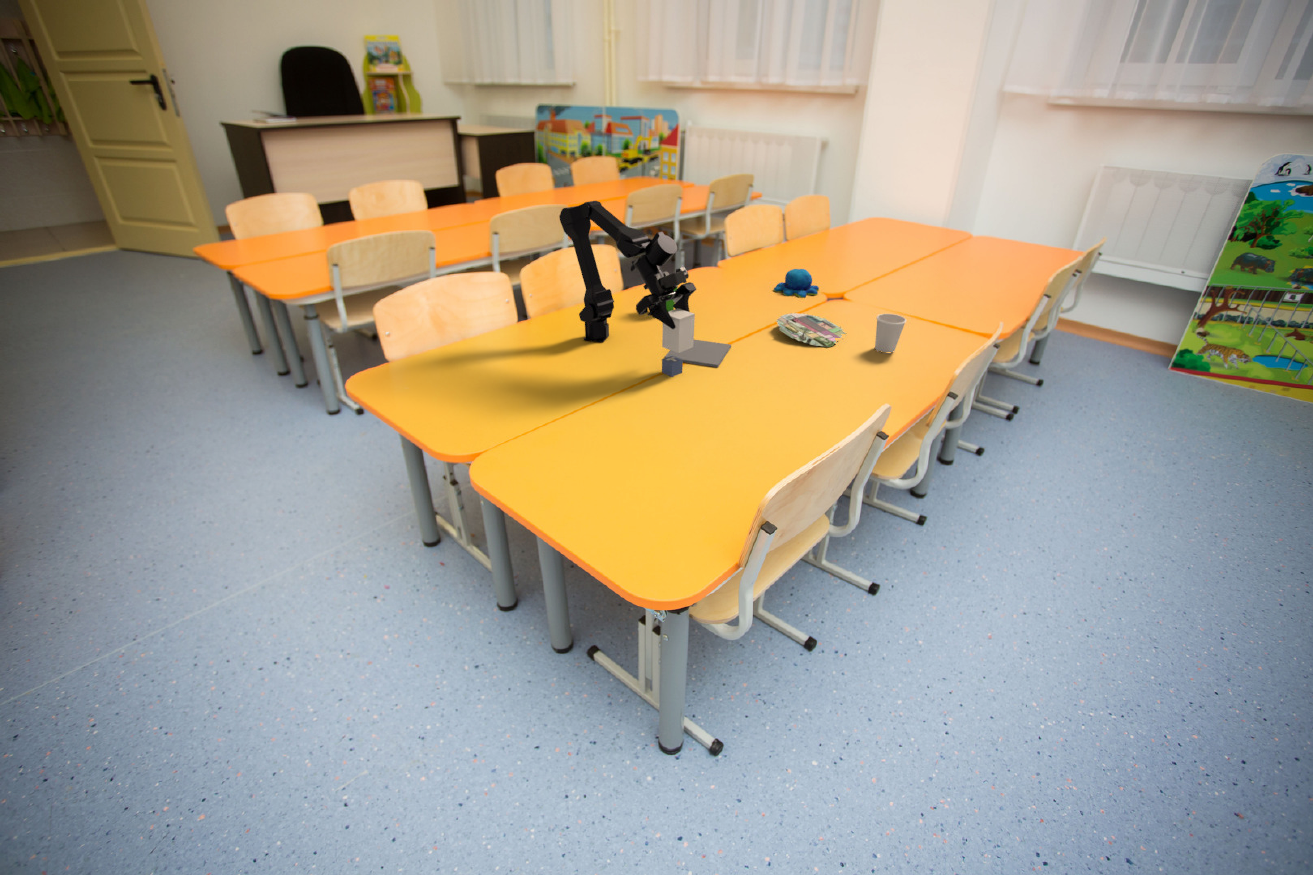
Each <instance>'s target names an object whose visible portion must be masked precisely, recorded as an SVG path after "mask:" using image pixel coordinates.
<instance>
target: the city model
mask: <svg viewBox="0 0 1313 875" xmlns="http://www.w3.org/2000/svg"><path fill="white" fill-rule="evenodd" d="M775 322H776V323H777V325H778V328H779V329H778V330H779V331H780V332H782V333H784V334H785V335H786V336H788V337H789V338H791V339H795V340H796V341H798V342H803V343H804V344H809V345H810V346H811V345H812V346H816V347H817V346H820V347H824V348H825V347H827V348H832V347H834V346H836V345H837V343H836V340H835V338H841V337H842V335H841V334H846V335H847V333H846V332H845V331H844V330H843V328H842V327H841V326H839V325H837V324H835V323H833V322H831V321H830V320H828V319H827V318H825V317H823V318H822V317H820V316H817V315H813V314H808V313H807V314H806V313H796V312H794V313H792V312H791V313H786V314H783V315H781V316H779V317H778V318H777V319H776V320H775ZM835 343H836V344H835ZM834 344H835V345H834ZM833 345H834V346H833ZM831 346H832V347H831Z"/></svg>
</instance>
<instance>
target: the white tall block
mask: <svg viewBox="0 0 1313 875" xmlns="http://www.w3.org/2000/svg"><path fill="white" fill-rule="evenodd" d="M668 313H669V314H670V316H671V318H672V320H673V322H674V324H675V326H676V328H675V329H671V328H670V327H669V326H667V325H666V324H664V323H663V322H662V340H661V341H662V342H661V343H662V345H661V346H662V348H664V349H666V350H669V351H670V350H672V351H674V352H677V353H680V352H683V351H685V350H687V349H690V348H692V347H693V342H694V340H695V338H694V336H695V319H696V318H695V317H696V316H695V315H696V314H695V313H693V312H691V311H690V312H688V311H685V310H682V309H679V308H678V309H675V308H674V309H673V310H672V311H669V312H668Z"/></svg>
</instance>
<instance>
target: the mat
mask: <svg viewBox="0 0 1313 875" xmlns="http://www.w3.org/2000/svg"><path fill="white" fill-rule="evenodd" d="M731 348H732V344H730V343H729V344H728V343H721V342H716V341H707V340H700V339H694V342H693V347H692V348H690V349H687V350H685V351H683V352H680V353H677V352H674V351H672V350H669V351H668V352H667V354H665V355H664V358H667V357H670V356H675V357H677V358H679V359H682V360H683V363H685V364H686V363H687V364H692V365H700V366H706V367H712V368H719V366H720V365H722V362H723V361H724V358H725V357H726V356H727V354H728V353H729V351H730V349H731ZM664 358H663V359H664Z"/></svg>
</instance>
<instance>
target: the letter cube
mask: <svg viewBox="0 0 1313 875" xmlns="http://www.w3.org/2000/svg"><path fill="white" fill-rule="evenodd" d="M683 363H684V362H683V360H682V359H679V358H677V357H675V356H670V357H667V358H662V359H661V373H662V374H665V375H666V376H669V377H671V378H673V377H675V376H678V375H680V374H683Z"/></svg>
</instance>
